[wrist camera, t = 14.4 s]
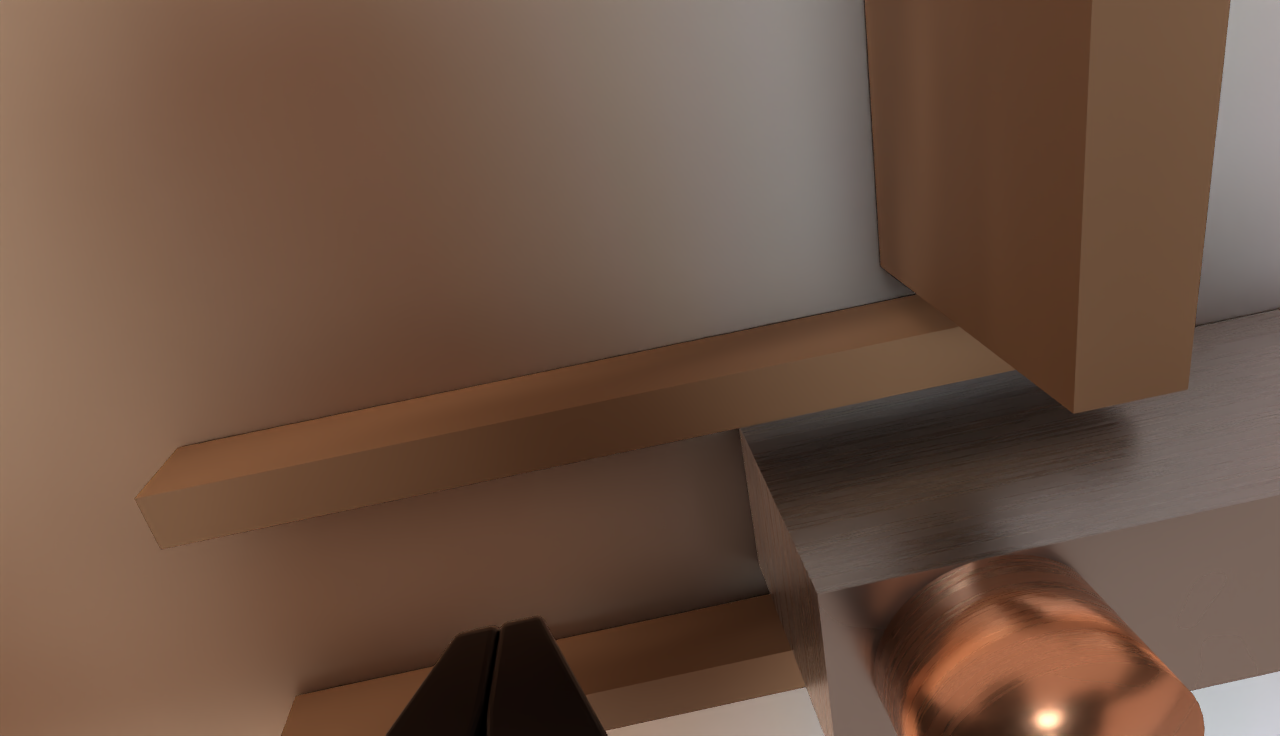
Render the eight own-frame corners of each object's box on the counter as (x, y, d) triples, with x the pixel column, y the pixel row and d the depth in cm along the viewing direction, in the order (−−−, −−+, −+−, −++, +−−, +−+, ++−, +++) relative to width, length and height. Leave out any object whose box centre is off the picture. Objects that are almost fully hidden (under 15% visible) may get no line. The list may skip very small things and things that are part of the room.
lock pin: (1330, 298, 9) (1865, 493, 6) (1304, 447, 10) (1755, 705, 6) (737, 423, 9) (871, 711, 5) (759, 563, 10) (888, 899, 6)
